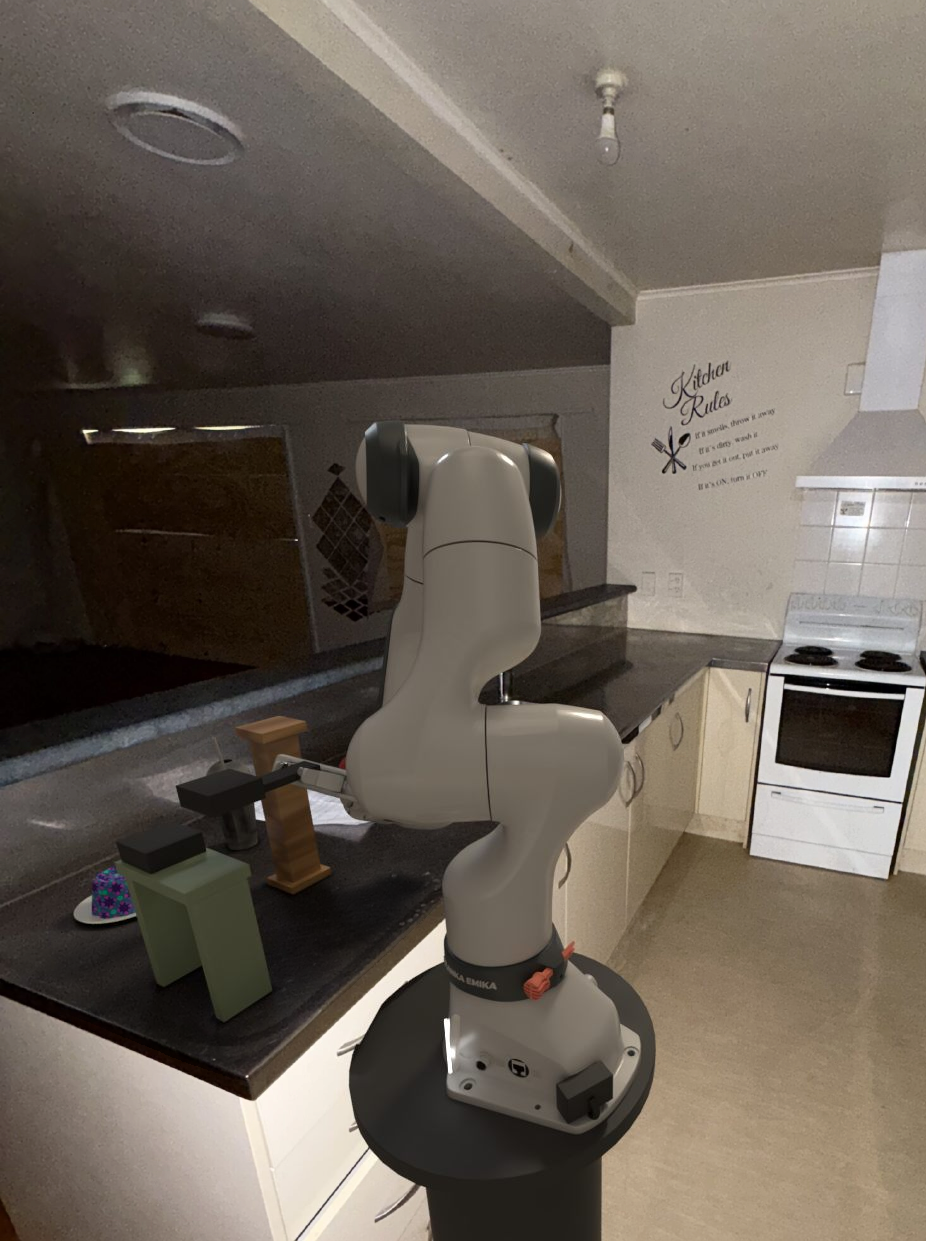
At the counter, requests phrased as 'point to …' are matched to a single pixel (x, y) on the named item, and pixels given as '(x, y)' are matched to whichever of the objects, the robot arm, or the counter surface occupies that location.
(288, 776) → the black pad
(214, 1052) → the counter surface
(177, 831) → the black block
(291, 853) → the tall stand
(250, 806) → the beverage cup
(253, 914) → the low bench
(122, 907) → the pudding
